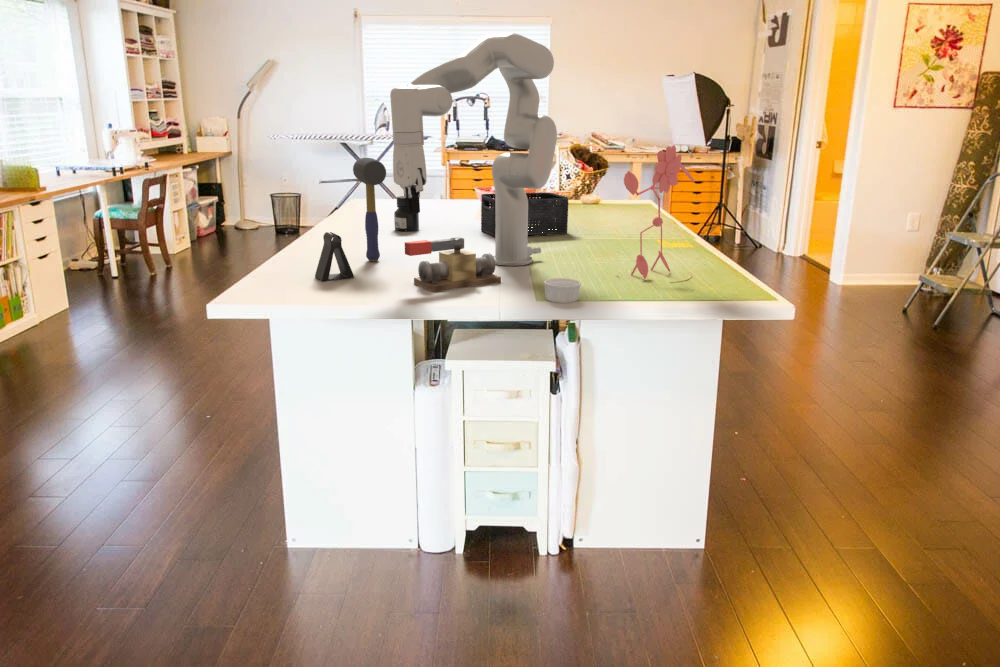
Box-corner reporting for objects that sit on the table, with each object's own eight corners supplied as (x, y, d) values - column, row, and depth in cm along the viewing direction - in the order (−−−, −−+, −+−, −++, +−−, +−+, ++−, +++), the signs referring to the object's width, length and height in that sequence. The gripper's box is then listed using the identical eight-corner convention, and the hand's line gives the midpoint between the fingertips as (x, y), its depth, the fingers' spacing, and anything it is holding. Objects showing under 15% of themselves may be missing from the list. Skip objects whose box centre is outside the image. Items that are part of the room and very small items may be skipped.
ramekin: (577, 294, 192) (578, 277, 190) (582, 304, 183) (583, 286, 182) (542, 295, 191) (542, 278, 190) (545, 304, 183) (545, 286, 181)
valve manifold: (479, 274, 212) (479, 242, 210) (500, 282, 204) (501, 248, 201) (414, 283, 202) (413, 249, 199) (434, 292, 193) (433, 256, 190)
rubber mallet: (391, 263, 226) (387, 159, 217) (366, 266, 223) (361, 159, 214) (379, 256, 236) (375, 156, 228) (355, 258, 233) (350, 156, 225)
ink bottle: (391, 228, 287) (390, 196, 283) (414, 227, 290) (413, 195, 287) (399, 232, 278) (398, 199, 275) (422, 231, 282) (421, 198, 278)
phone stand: (321, 281, 203) (318, 236, 200) (314, 277, 208) (312, 233, 205) (354, 278, 208) (352, 233, 204) (346, 273, 213) (344, 230, 209)
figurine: (609, 278, 208) (618, 145, 197) (665, 265, 225) (676, 142, 214) (656, 290, 197) (668, 150, 186) (711, 275, 214) (725, 146, 203)
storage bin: (549, 226, 294) (550, 191, 290) (570, 234, 277) (572, 197, 273) (478, 230, 285) (478, 193, 281) (495, 239, 268) (496, 200, 264)
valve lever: (459, 247, 203) (459, 235, 202) (466, 249, 200) (466, 237, 199) (404, 253, 194) (403, 242, 193) (411, 256, 191) (410, 244, 190)
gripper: (381, 138, 195) (387, 210, 201) (408, 142, 183) (413, 218, 189) (408, 136, 199) (412, 207, 205) (436, 139, 187) (440, 215, 193)
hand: (413, 212), depth 197 cm, fingers closed
